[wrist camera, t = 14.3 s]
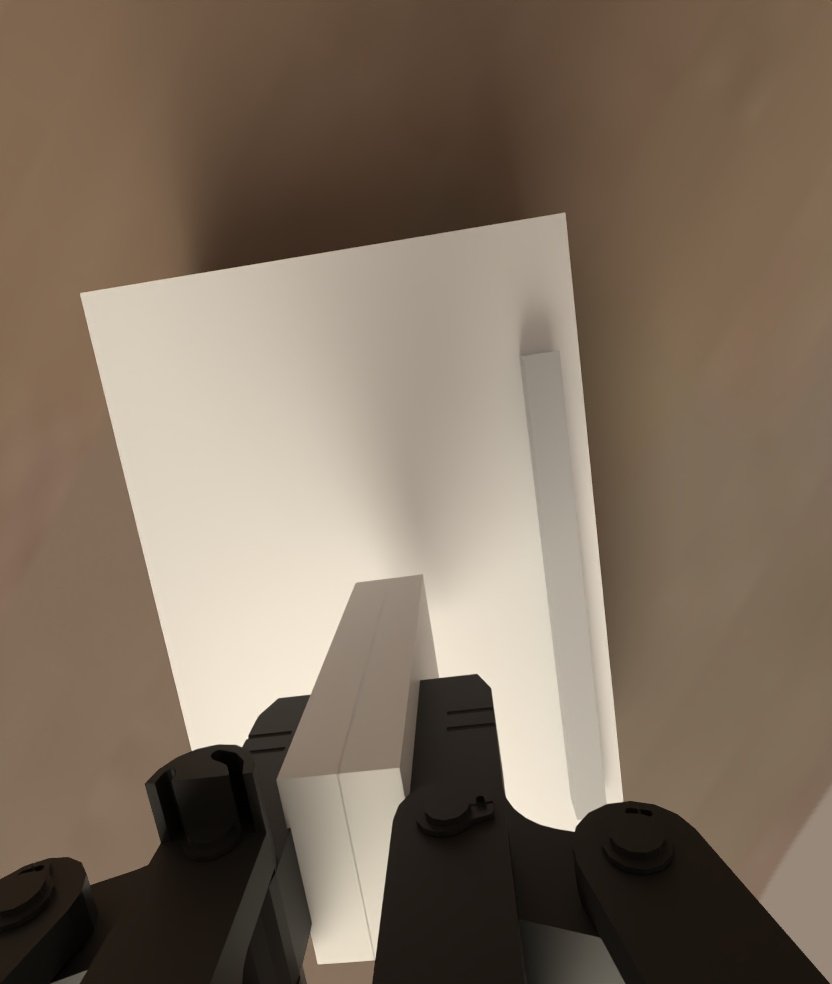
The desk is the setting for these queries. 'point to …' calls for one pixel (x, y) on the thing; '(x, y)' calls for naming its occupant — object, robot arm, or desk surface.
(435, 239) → the cover
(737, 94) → the desk surface
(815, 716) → the desk surface
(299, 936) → the robot arm
